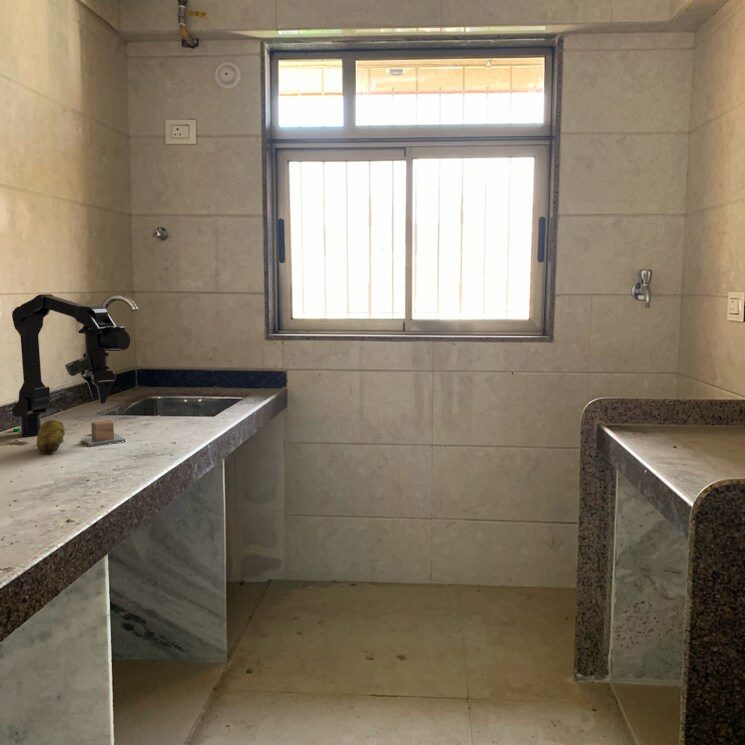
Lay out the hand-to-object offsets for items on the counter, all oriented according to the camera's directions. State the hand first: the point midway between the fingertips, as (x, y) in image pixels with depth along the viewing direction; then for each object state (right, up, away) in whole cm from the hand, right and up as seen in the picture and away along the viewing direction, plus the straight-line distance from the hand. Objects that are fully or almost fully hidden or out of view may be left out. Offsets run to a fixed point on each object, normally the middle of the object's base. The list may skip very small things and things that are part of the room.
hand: (98, 401), depth 212 cm
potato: (-9, -14, -12) cm, 20 cm away
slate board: (+2, -12, -1) cm, 12 cm away
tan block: (+2, -11, -1) cm, 11 cm away
